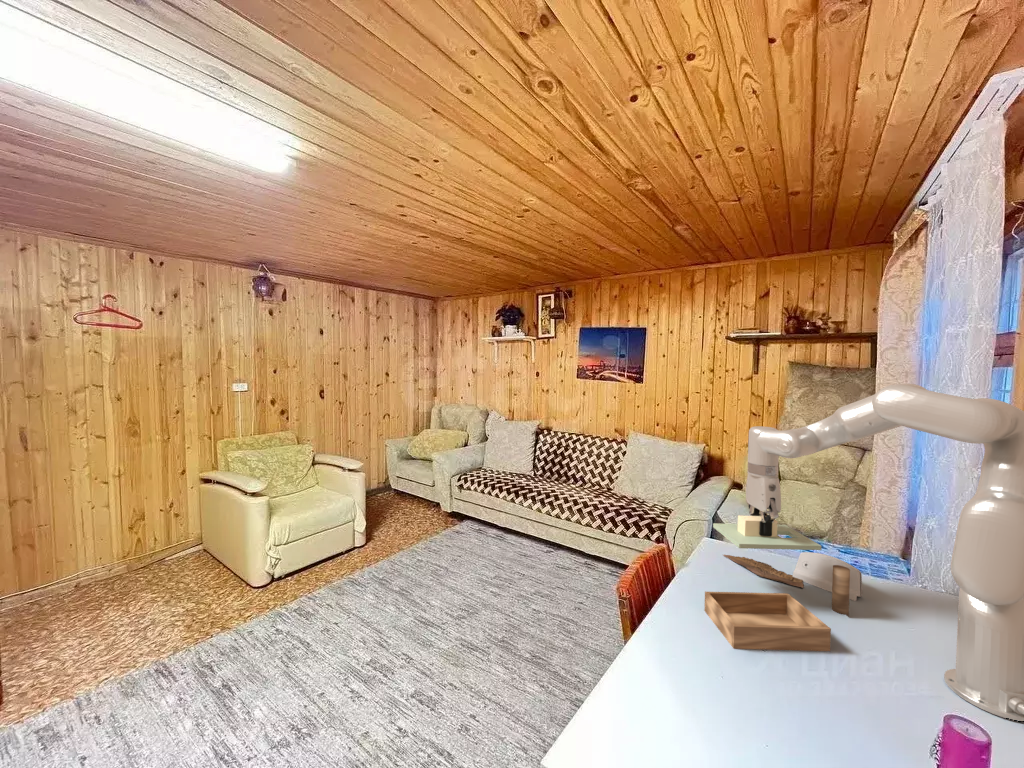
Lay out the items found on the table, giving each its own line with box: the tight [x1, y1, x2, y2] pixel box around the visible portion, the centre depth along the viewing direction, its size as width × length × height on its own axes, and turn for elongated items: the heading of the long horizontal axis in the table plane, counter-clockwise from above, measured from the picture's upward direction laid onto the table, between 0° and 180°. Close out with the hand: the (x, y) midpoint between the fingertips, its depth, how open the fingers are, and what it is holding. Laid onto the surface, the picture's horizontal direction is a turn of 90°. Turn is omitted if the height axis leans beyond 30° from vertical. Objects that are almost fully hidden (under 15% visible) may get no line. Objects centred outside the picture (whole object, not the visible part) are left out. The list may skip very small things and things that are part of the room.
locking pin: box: [831, 565, 850, 617], centre depth 110 cm, size 4×4×12 cm
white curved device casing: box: [792, 551, 863, 602], centre depth 125 cm, size 17×5×10 cm, turn 34°
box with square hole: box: [703, 591, 832, 652], centre depth 101 cm, size 15×22×6 cm
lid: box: [712, 515, 822, 551], centre depth 118 cm, size 15×22×6 cm
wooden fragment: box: [722, 554, 805, 589], centre depth 134 cm, size 26×11×1 cm, turn 27°
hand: (760, 531), depth 118 cm, fingers closed on lid, 4 cm apart
